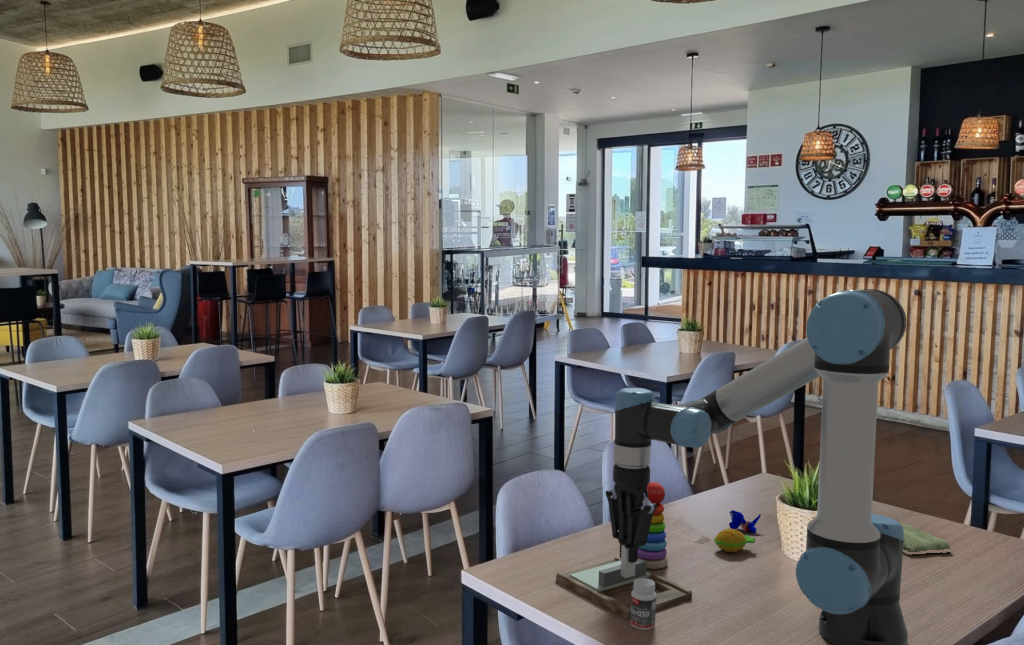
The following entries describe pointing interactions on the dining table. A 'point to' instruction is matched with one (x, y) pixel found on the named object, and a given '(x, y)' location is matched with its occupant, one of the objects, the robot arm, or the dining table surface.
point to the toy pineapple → (732, 540)
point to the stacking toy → (655, 532)
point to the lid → (609, 575)
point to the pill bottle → (643, 604)
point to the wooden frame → (664, 599)
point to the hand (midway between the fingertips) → (627, 575)
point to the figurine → (742, 522)
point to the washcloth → (921, 540)
